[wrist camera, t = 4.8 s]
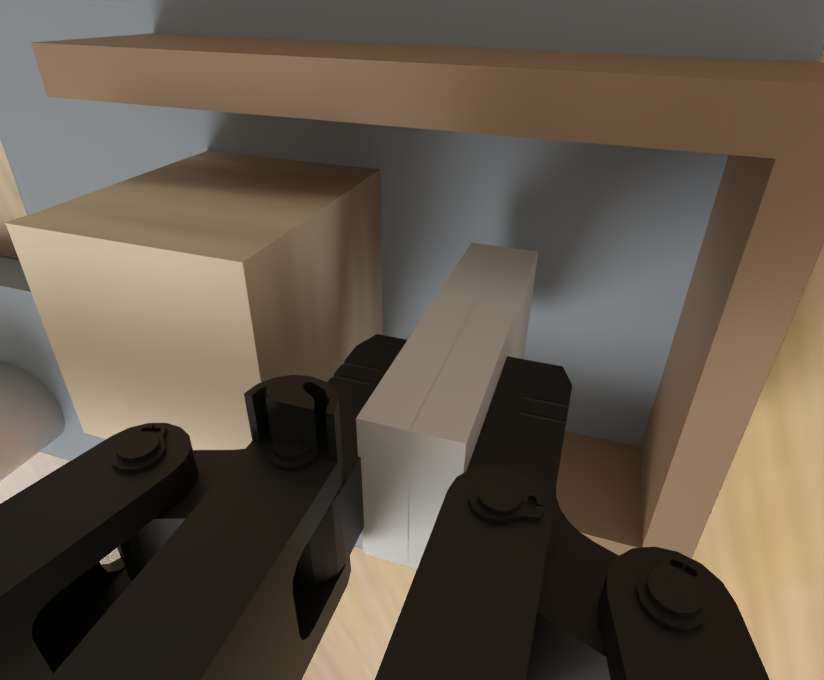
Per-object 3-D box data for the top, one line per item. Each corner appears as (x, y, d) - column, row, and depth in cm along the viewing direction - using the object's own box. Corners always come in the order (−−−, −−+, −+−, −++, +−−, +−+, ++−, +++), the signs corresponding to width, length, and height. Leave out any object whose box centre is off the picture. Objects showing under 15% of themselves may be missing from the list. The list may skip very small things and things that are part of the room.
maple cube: (206, 150, 15) (5, 222, 10) (380, 169, 14) (242, 262, 9) (234, 313, 18) (83, 432, 13) (382, 342, 17) (276, 487, 12)
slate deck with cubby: (-198, -85, 18) (-471, -111, 14) (848, -115, 10) (1009, -198, 6) (19, 409, 29) (-95, 486, 24) (621, 577, 21) (617, 734, 16)
